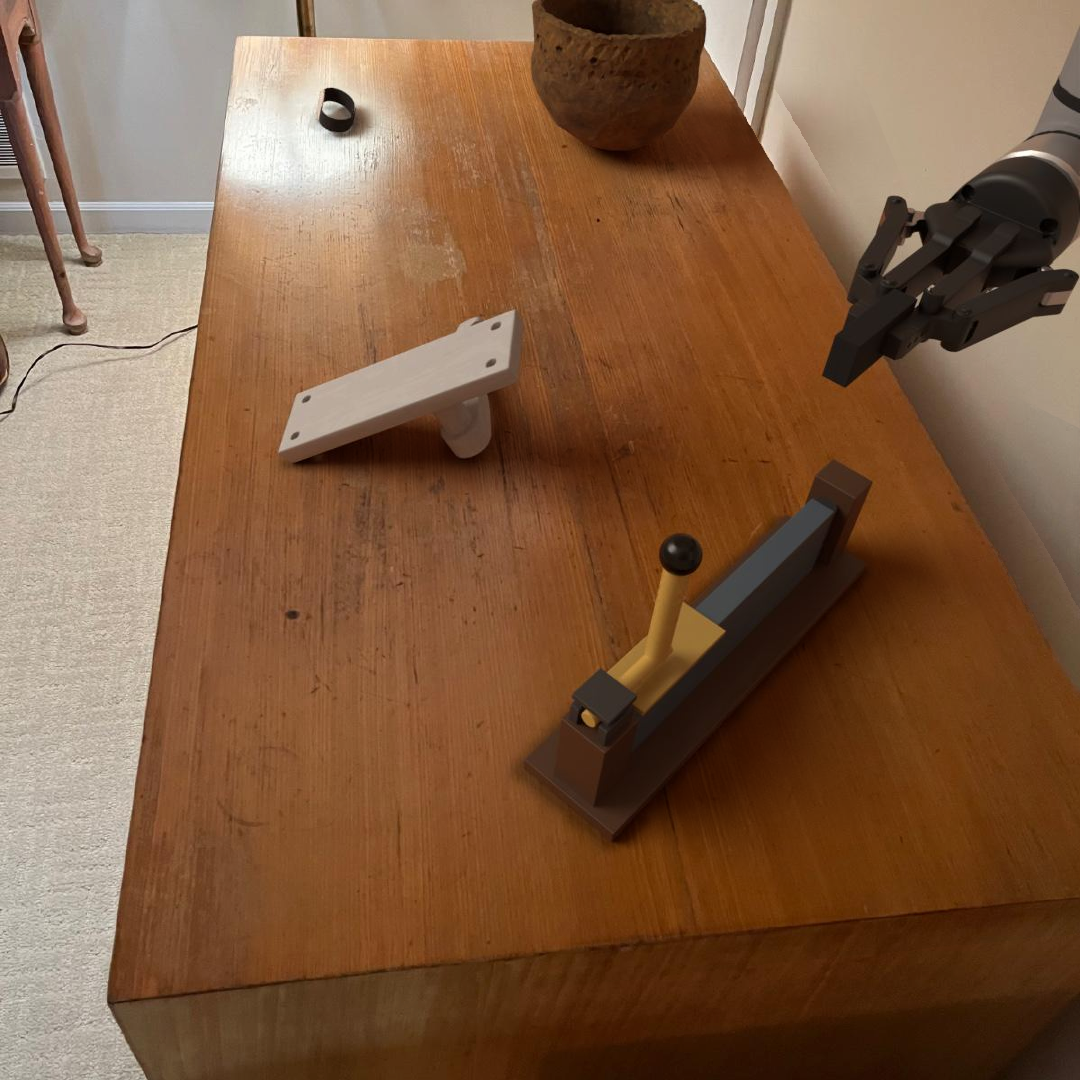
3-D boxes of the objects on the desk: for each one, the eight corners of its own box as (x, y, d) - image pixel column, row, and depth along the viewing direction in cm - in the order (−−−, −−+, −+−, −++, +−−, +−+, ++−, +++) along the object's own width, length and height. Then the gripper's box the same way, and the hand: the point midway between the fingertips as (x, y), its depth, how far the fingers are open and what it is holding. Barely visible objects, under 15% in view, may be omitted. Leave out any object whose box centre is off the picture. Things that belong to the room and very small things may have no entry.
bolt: (651, 639, 59) (679, 517, 52) (681, 660, 58) (714, 540, 51) (571, 713, 56) (590, 593, 48) (602, 737, 55) (626, 619, 47)
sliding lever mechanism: (782, 523, 78) (815, 429, 71) (863, 572, 75) (905, 480, 68) (522, 767, 62) (531, 678, 55) (611, 842, 59) (632, 758, 52)
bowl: (528, 97, 124) (536, -36, 113) (681, 110, 125) (703, -22, 114) (520, 172, 112) (528, 30, 101) (690, 186, 112) (717, 46, 101)
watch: (317, 106, 119) (313, 75, 117) (357, 106, 120) (355, 75, 117) (314, 137, 114) (310, 105, 112) (356, 137, 115) (354, 106, 112)
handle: (337, 518, 83) (559, 446, 75) (276, 452, 77) (508, 367, 70) (372, 379, 94) (568, 304, 87) (321, 313, 89) (524, 227, 82)
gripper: (1092, 302, 67) (926, 472, 55) (915, 225, 73) (727, 364, 60) (1148, 196, 62) (978, 359, 49) (952, 122, 67) (754, 251, 55)
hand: (840, 361), depth 55 cm, fingers closed
